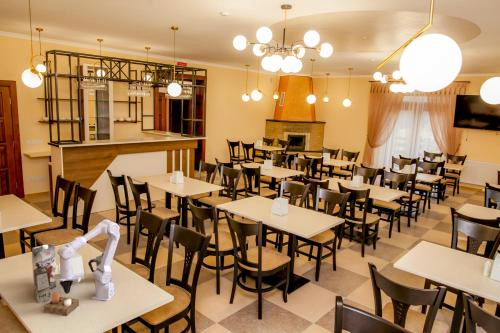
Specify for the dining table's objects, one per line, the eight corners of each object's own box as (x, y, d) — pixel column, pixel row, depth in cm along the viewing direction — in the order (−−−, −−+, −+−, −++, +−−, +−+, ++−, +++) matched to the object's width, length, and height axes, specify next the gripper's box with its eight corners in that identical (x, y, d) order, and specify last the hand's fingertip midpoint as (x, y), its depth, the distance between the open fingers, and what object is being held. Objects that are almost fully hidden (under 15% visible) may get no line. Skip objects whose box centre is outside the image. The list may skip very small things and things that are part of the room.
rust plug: (60, 301, 187) (60, 292, 186) (56, 304, 183) (56, 295, 183) (55, 300, 187) (54, 291, 186) (50, 303, 184) (50, 295, 183)
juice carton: (32, 289, 202) (29, 245, 198) (50, 282, 211) (47, 240, 207) (40, 294, 198) (38, 249, 193) (58, 287, 207) (56, 243, 202)
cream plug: (73, 307, 186) (72, 299, 185) (68, 311, 183) (68, 302, 182) (67, 306, 187) (66, 298, 186) (62, 310, 183) (62, 301, 183)
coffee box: (51, 299, 194) (50, 272, 191) (38, 303, 190) (36, 275, 187) (47, 292, 200) (45, 266, 198) (34, 296, 196) (32, 269, 193)
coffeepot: (112, 274, 225) (111, 248, 222) (117, 280, 217) (116, 253, 214) (86, 281, 215) (85, 253, 212) (91, 287, 208) (90, 259, 205)
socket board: (79, 305, 189) (78, 299, 189) (66, 315, 180) (66, 309, 179) (57, 302, 191) (57, 296, 191) (44, 312, 181) (43, 306, 181)
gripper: (48, 270, 178) (49, 294, 180) (74, 273, 176) (75, 298, 178) (57, 264, 185) (58, 288, 187) (82, 267, 183) (83, 291, 185)
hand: (67, 292), depth 183 cm, fingers closed
